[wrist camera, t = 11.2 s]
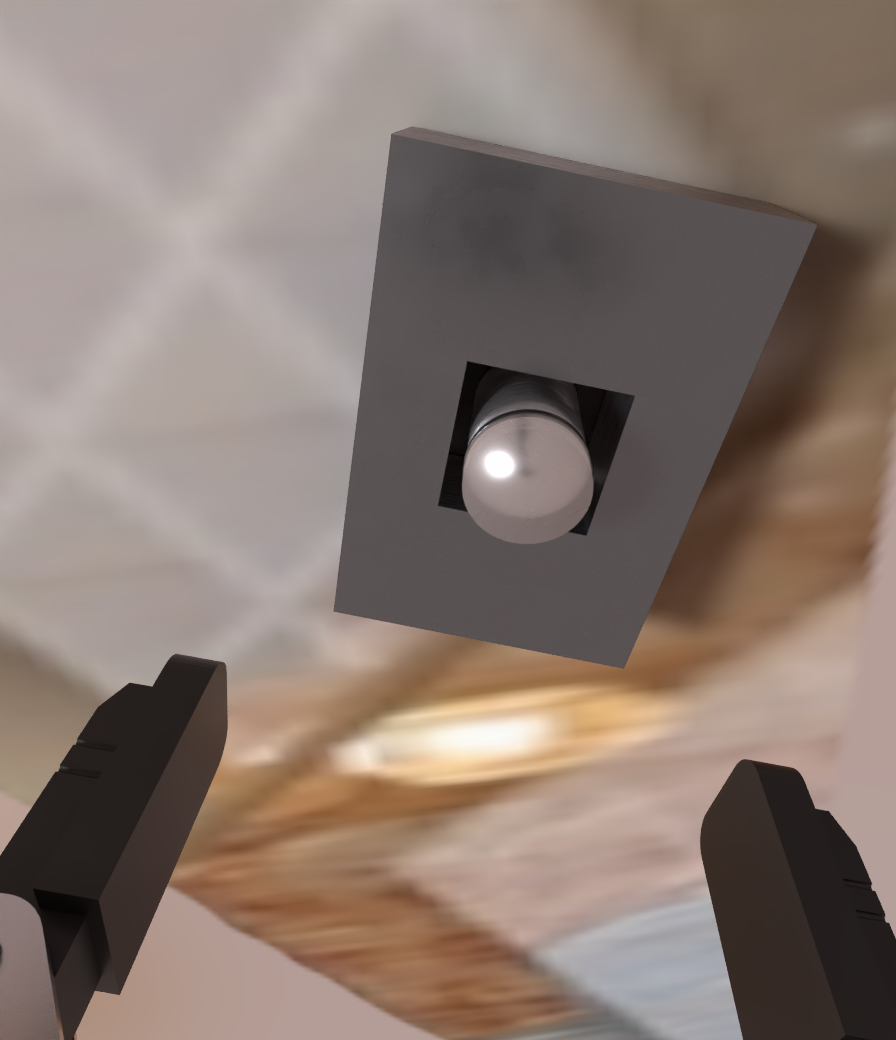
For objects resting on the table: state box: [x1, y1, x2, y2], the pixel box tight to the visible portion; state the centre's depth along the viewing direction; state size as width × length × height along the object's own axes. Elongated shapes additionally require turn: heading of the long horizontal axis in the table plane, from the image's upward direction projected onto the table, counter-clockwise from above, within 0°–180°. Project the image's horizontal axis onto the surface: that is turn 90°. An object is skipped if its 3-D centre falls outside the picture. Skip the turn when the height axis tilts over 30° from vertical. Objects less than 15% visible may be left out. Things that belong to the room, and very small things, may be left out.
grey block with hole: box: [334, 127, 817, 668], centre depth 30 cm, size 20×14×5 cm
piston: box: [462, 366, 593, 544], centre depth 29 cm, size 5×5×8 cm
